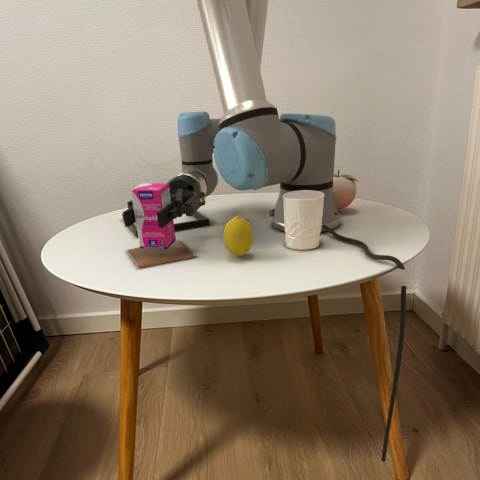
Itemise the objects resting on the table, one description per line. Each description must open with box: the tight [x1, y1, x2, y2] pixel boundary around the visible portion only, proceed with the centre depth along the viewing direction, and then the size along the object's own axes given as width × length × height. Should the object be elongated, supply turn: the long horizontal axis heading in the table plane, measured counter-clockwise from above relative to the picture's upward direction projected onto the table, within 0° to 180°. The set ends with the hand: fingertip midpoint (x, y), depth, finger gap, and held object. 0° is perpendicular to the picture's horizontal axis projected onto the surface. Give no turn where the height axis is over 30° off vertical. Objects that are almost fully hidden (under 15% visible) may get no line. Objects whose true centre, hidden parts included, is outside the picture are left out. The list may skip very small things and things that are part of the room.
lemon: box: [223, 215, 254, 259], centre depth 81 cm, size 6×6×8 cm
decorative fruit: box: [333, 169, 359, 212], centre depth 105 cm, size 9×8×10 cm
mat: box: [127, 240, 196, 269], centre depth 86 cm, size 11×11×1 cm
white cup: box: [283, 190, 324, 251], centre depth 85 cm, size 8×8×10 cm
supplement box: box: [130, 182, 177, 249], centre depth 83 cm, size 6×6×12 cm
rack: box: [121, 210, 210, 238], centre depth 107 cm, size 18×18×2 cm
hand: (142, 219), depth 78 cm, fingers closed on supplement box, 6 cm apart
